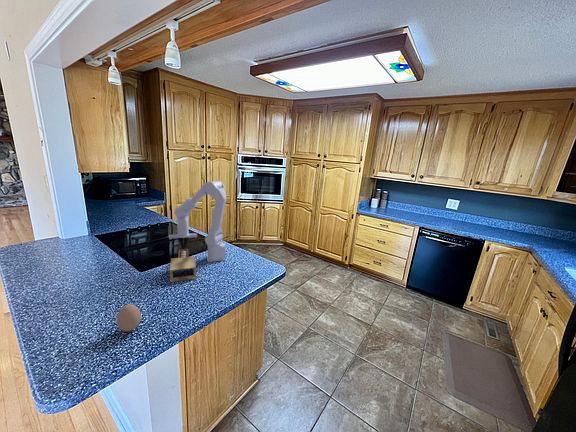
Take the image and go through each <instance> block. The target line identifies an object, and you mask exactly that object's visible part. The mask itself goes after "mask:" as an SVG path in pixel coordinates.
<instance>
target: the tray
mask: <svg viewBox="0 0 576 432" xmlns="http://www.w3.org/2000/svg"><path fill="white" fill-rule="evenodd" d="M177 252H178V254H177V255H178V256H177V258H184V257H190V256H189V255H190V252H189V248H185V249H182V248H181V249H180V248H179V249H178V251H177Z"/></svg>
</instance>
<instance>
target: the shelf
mask: <svg viewBox="0 0 576 432" xmlns="http://www.w3.org/2000/svg"><path fill="white" fill-rule="evenodd" d="M169 264H170V265H169V267H170V268H169V279H170V281H169V282H170V283H172V282H178V281H179V282H180V281H187V280H195V279H197V264H196V256H189V257H184V258H178V257H176V258H175V257H174V258H173V257H172V258H170V263H169ZM190 269H192V271H193V272H192V273H193V274H191V275H184V276H182V275H181V276H174V273H175V271H181V270H190Z"/></svg>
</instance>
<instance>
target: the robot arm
mask: <svg viewBox="0 0 576 432" xmlns="http://www.w3.org/2000/svg"><path fill="white" fill-rule="evenodd" d="M225 187H226V186H225V185H224V183H223V182H222V181H221V180H219V179H218V180H212V181H207V182H205V183H204V184H203V185H201V187H200V188H199V190H198V191H197V192H196V193H195V194H194V195H193V196H192V197H187V198H185V201H184V202H183V203H181V204H180V206H178V207H176V208H175V210H174V215H175V217H176V221H177V222H176V223H177V233H175V234H168V239H169V240H172V239H173V240H174V239H178V243H179V244H180V246H181V249H186V247H187V244H188V242H189V238H190V239H191V238H197V237H198V234H197V233H189V219H190V217H189V216H190V215H191V211H193V210H194V209H195V208H196V207H197V206H198V202H199V201H200V200H201V199H203V197H205V196H206V195H207V194H208V195H209V196H210V197H211V198H212V199H214V200H215V202H214V207H213V213H212V214H213V215H212V219H211V225H210V226H211V227H210V229H209V230H208V232H207V234H206V236H205V239H204V241H205V244H206V245H207V255H206V260H207V263H212V262H222V261H226V244H225V243H224V242H222V240H223V239H224V230H223V229H222V225H223V219H224V215H225V210H226V209H225V208H226V203H227V194H226V190H225Z"/></svg>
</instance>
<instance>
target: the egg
mask: <svg viewBox="0 0 576 432" xmlns="http://www.w3.org/2000/svg"><path fill="white" fill-rule="evenodd" d="M141 319H142V315H141V311H140V309H139V308H138V307H137V306H136V305H135V304H132V303H129V304H126V305H124V306H122V307H121V308H120V309H119V311H118V313H117V315H116V326H117V327H118V329H120V330H121V331H122V332H131V331H134V330H135V329H136V328H137V327H138V325H140V322H141Z"/></svg>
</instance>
